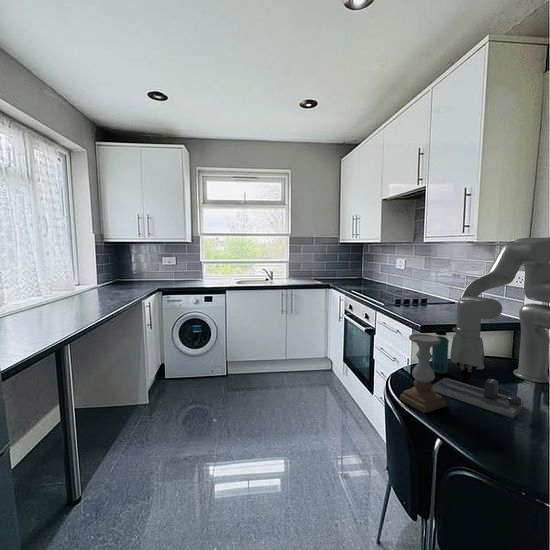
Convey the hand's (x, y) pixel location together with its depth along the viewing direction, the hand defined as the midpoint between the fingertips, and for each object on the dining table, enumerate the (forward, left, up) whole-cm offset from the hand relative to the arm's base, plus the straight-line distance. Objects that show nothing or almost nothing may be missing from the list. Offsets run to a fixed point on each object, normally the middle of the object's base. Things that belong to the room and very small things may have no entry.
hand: (466, 380), depth 117 cm
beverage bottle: (-12, -15, -6) cm, 20 cm away
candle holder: (+19, -8, -6) cm, 21 cm away
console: (+1, +3, -6) cm, 6 cm away
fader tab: (+1, +8, -3) cm, 9 cm away
